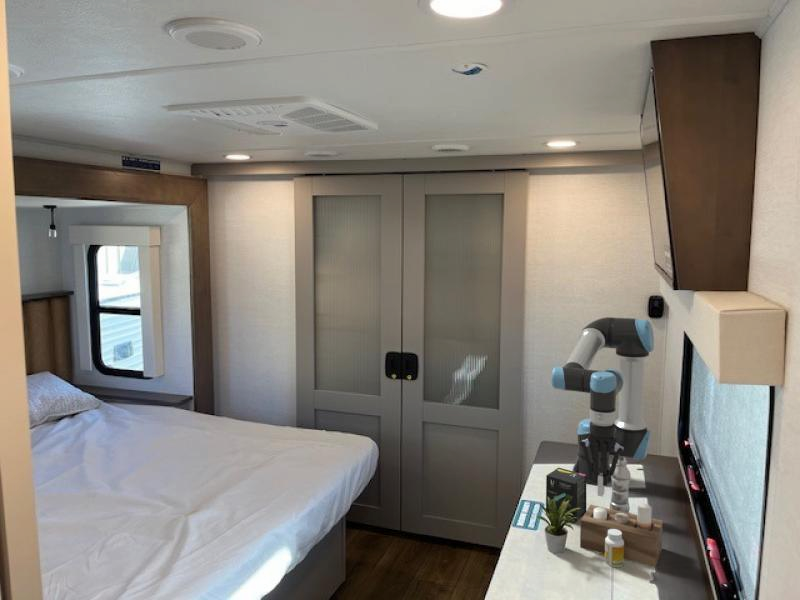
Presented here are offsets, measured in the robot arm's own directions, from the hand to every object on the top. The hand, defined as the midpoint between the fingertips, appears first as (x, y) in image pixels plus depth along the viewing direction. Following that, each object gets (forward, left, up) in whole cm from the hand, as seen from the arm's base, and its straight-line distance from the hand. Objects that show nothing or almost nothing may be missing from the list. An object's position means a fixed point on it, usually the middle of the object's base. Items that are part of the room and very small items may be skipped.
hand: (601, 494), depth 191 cm
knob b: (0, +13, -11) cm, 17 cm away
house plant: (+12, -10, -16) cm, 23 cm away
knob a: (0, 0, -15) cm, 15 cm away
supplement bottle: (+10, +7, -16) cm, 20 cm away
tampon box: (-13, -14, -16) cm, 25 cm away
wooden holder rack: (0, +7, -16) cm, 17 cm away
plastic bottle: (-22, +2, -16) cm, 27 cm away
